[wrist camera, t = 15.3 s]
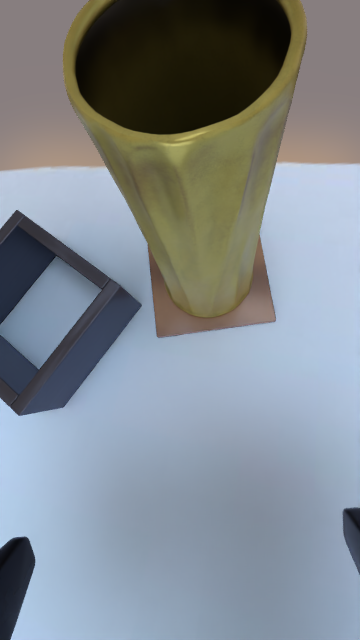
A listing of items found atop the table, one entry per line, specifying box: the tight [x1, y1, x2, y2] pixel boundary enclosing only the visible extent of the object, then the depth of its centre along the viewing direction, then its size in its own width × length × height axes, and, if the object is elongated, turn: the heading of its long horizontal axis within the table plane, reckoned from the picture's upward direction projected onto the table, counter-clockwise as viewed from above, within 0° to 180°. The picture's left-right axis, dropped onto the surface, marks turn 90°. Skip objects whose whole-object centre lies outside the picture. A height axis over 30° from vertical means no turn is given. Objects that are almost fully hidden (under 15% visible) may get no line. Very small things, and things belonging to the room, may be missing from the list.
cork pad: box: [148, 235, 276, 338], centre depth 20 cm, size 8×8×1 cm
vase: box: [63, 0, 307, 318], centre depth 13 cm, size 6×6×14 cm
